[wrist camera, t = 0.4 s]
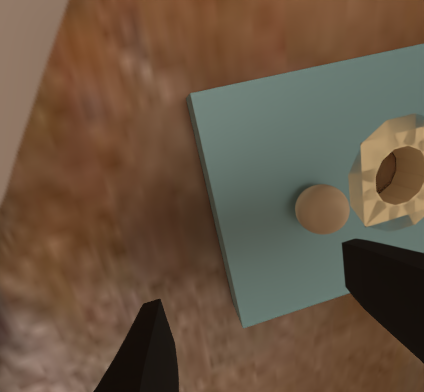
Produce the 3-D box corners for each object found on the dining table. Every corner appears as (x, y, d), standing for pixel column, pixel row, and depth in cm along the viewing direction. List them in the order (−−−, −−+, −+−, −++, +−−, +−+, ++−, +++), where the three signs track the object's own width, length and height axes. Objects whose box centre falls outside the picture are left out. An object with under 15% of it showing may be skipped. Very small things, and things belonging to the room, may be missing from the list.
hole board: (431, 45, 19) (470, 33, 16) (427, 244, 23) (457, 257, 21) (185, 98, 17) (190, 93, 14) (233, 305, 21) (243, 328, 19)
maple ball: (326, 174, 17) (360, 184, 14) (330, 217, 18) (363, 234, 15) (283, 186, 17) (309, 198, 14) (289, 229, 17) (315, 249, 15)
